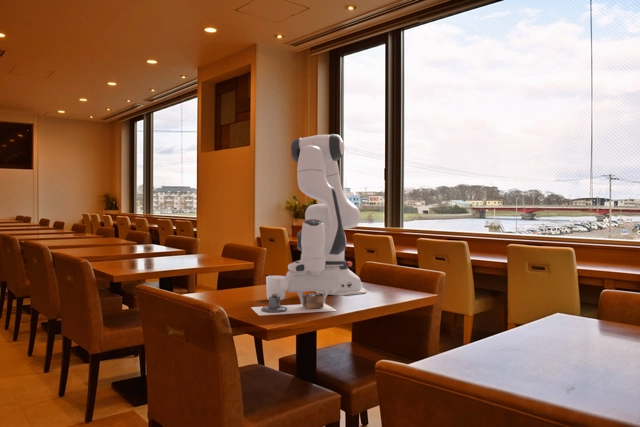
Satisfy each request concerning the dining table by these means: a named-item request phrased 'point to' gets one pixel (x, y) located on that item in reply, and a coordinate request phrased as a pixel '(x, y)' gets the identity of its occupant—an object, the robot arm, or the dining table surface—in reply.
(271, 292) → the white cup
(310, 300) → the collar
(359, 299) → the dining table surface
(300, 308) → the board
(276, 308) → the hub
